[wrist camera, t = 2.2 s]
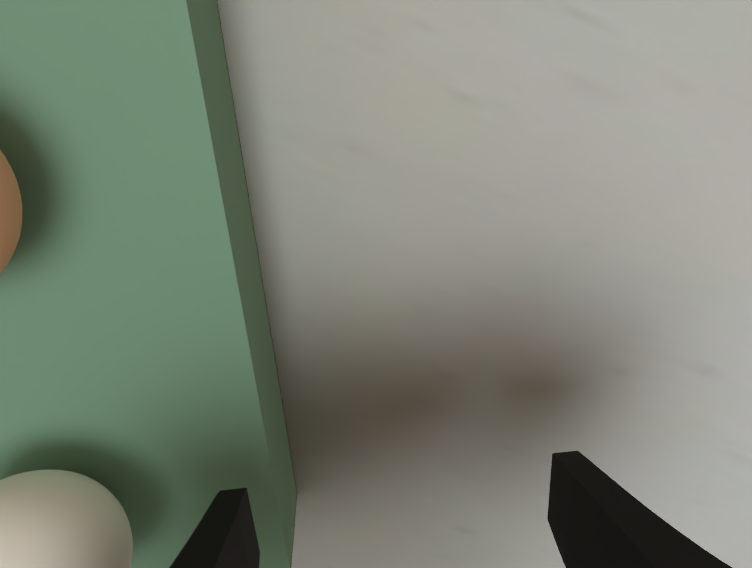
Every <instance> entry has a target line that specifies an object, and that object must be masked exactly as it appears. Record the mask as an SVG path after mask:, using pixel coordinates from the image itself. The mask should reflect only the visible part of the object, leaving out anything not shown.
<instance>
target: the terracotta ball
mask: <svg viewBox="0 0 752 568" xmlns="http://www.w3.org/2000/svg"><path fill="white" fill-rule="evenodd" d="M21 227H22V200H21V194H20V190H19V186H18V182H17V180H16V177H15V175H14V172H13V170H12V168H11V166H10V164H9V162H8V161H7V159H6V157H5V156H4V154H3V153H2V151H1V150H0V274H1V272H2V271H3V270H4V269H5V267H6V266H7V264H8V263H9V261H10V259H11V257H12V255H13V253H14V251H15V249H16V246H17V243H18V240H19V238H20V232H21Z"/></svg>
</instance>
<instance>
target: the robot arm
mask: <svg viewBox="0 0 752 568" xmlns="http://www.w3.org/2000/svg"><path fill="white" fill-rule="evenodd" d="M548 522H549V524H550V527H551V530H552V533H553V535H554V538H555V541H556V544H557V546H558V549H559V551H560V554H561V557H562V559H563V562H564V564H565V566H566V568H732V567H730V566H729V565H727V564H725V563H724V562H722V561H721V560H719V559H718V558H716V557H715V556H713V555H712V554H710V553H709V552H707V551H706V550H704V549H703V548H701V547H700V546H698V545H697V544H696V543H694V542H693V541H691V540H690V539H689V538H687V537H686V536H684V535H683V534H682V533H680V532H679V531H677V530H676V529H675V528H673V527H672V526H671V525H669V524H668V523H667V522H665V521H664V520H663V519H661V518H660V517H659V516H657V515H656V514H655V513H653V512H652V511H651V510H650V509H648V508H647V507H646V506H644V505H643V504H642V503H641V502H639V501H638V500H637V499H636V498H634V497H633V496H632V495H631V494H629V493H628V492H627V491H626V490H624V489H623V488H622V487H621V486H620V485H618V484H617V483H616V482H615V481H613V480H612V479H611V478H610V477H609V476H607V475H606V474H605V473H604V472H603V471H601V470H600V469H599V468H598V467H597V466H596V465H594V464H593V463H592V462H591V461H590V460H588V459H587V458H586V457H585V456H583V455H582V454H581V453H580V452H579V451H571V452H562V453H553V454H552V467H551V480H550V493H549V507H548ZM259 561H260V550H259V545H258V540H257V535H256V530H255V526H254V521H253V516H252V511H251V506H250V501H249V496H248V492H247V488H238V489H229V490H220V491H219V492H218V493H217V494H216V496H215V497H214V499H213V501H212V502H211V504H210V506H209V507H208V509H207V511H206V512H205V514H204V516H203V517H202V519H201V520H200V522H199V524H198V525H197V527H196V528H195V530H194V531H193V533H192V535H191V536H190V538H189V539H188V541H187V542H186V544H185V545H184V547H183V548H182V550H181V551H180V553H179V554H178V556H177V557H176V559H175V560H174V562H173V563H172V564H171V566H170V567H169V568H259Z"/></svg>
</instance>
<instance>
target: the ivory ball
mask: <svg viewBox="0 0 752 568" xmlns="http://www.w3.org/2000/svg"><path fill="white" fill-rule="evenodd" d="M132 556H133V540H132V533H131V528H130V524H129V520H128V518H127V516H126V513H125V511H124V509H123V507H122V506H121V504H120V502H119V501H118V500H117V499H116V497H115V496H114V495H113V494H112V493H111V492H110V491H109V490H108V489H107V488H106V487H104V486H103V485H102V484H100V483H99V482H97V481H95V480H94V479H92V478H89V477H87V476H85V475H82V474H79V473H75V472H71V471H65V470H35V471H28V472H24V473H20V474H16V475H12V476H9V477H7V478H4V479H2V480H0V568H131V563H132Z"/></svg>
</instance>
